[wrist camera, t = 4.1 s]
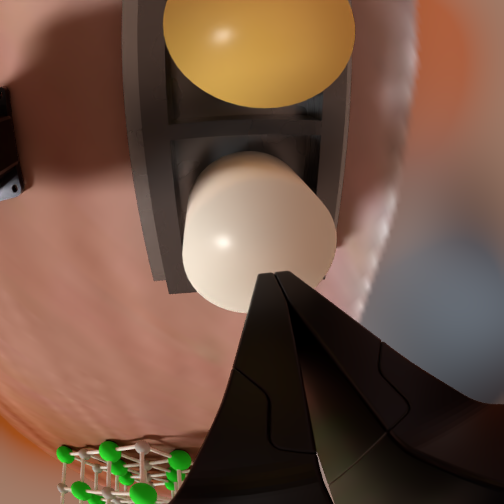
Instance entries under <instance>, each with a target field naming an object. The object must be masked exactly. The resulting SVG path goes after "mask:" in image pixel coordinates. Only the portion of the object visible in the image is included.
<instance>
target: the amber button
mask: <svg viewBox="0 0 504 504" xmlns="http://www.w3.org/2000/svg"><path fill="white" fill-rule="evenodd" d="M163 31H164V37H165V41H166V46H167V48H168V50H169V53H170V55H171V57H172V59H173V60H174V62H175V64H176V65H177V67H178V68H179V69H180V70H181V72H182V73H183V74H184V75H185V76H186V77H187V78H188V79H189V80H190V81H191V82H192V83H193V84H195V85H196V86H198V87H199V88H200V89H202V90H203V91H205V92H207V93H208V94H210V95H212V96H214V97H216V98H218V99H221V100H223V101H226V102H229V103H232V104H236V105H240V106H246V107H252V108H278V107H283V106H289V105H293V104H296V103H300V102H302V101H305V100H307V99H310V98H312V97H314V96H315V95H317V94H319V93H320V92H322V91H323V90H325V89H326V88H327V87H329V86H330V85H331V84H332V83H333V82H334V81H335V80H336V79H337V78H338V77H339V75H340V74H341V73H342V71H343V70H344V68H345V67H346V65H347V63H348V61H349V59H350V56H351V53H352V51H353V46H354V41H355V23H354V17H353V13H352V9H351V7H350V4H349V2H348V0H167V2H166V6H165V10H164V17H163Z"/></svg>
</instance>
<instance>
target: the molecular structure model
mask: <svg viewBox="0 0 504 504" xmlns="http://www.w3.org/2000/svg"><path fill="white" fill-rule="evenodd" d="M130 449H136V451H137V452H138V453H139V454H140V460H139V459H136V458H133V457H131V456H128V455H126V454H123V453H121V451H123V450H130ZM150 451H152V452H154V453H157V454H160V455H162V456H165V457H168V459H164V460H158V461H151V462H150V461H149V460H146V459H144V455H145V454H148V453H149V452H150ZM98 453H99V454H100V456H101V457H102V458H103V459H102V458H100V457H97V456H95V455H93V454H98ZM74 455H79V456H80V458H82V459H80V458H78V457H76V456H74ZM121 456H122V457H124V458H127V459H129V460H132V461H135V462H138V463H134V464H126V463H125V462H124V461H122V460H120V458H121ZM57 457H58V459H59V460H60V461H61V462H63V472H62V483H59V484H58V485H57V488H58V490H59V491H60V492H61V504H64V494H65V493H68V491H69V492H72V494H73V495H74V496H75V497H76V498H77V499H79V504H83V501H86V500H88V503H89V504H105V503H106V504H128V503H129V504H159V503H169V502H170V501H171V500H172V498H173V497H174V496H175V495H174V491H175V494H176V493H177V491H178V490H179V488H180V487H181V485H182V483H183V482H184V479H185V477H186V476H187V475H186V474H185V473H189V471H190V469H189V470H186V469H188V468H189V467H190V465H193V463H194V462H191V457H190V456H189V454H188V453H187V452H185V451H183V450H175V451H173V452H171V453H170V454H168V453H165V452H162V451H160V450H157V449H154V448H152V447H150V445H149V444H148V443H147V442H146V441H142V440H141V441H138V442H137V443H136V444H135V445H129V446H123V447H119V446H118V445H117V444H116V443H114V442H111V441H105V442H103V443H101V445H100V446H99V450H92V451H88V450H87V449H80V450H79V452H73V451H72V450H71V449H70V448H68V447H66V446H61V447H59V448H58V449H57ZM90 457H92V458H94V459H97V460H99V461H102V462H104V463H107V466H101V465H99V464H92V463H90V462H87V461H85V460H88V459H90ZM74 459H76V460H78V461H80V462H81V475H80V481H77V482H74V483H73V484H72V486H71V488H69V487H67V485H65V475H66V464H70V463H72V462H73V461H74ZM168 462H169V465H170V466H171V467H169V468H168V469H165V468H162V467H159V466H156V465H154V464H161V463H168ZM85 464H88V465H90V466H92V469H93V471H94V472H95V488H94V490H91V488H90V487H89V486H88V485H87V484H86V483H84V468H85ZM136 466H140V472H138V471H135V470H132V469H129V468H128V467H136ZM151 468H155V469H158V470H162V471H165V472H166V473H159V474H150V473H148V472H147V471H149V470H150V469H151ZM102 470H103V471H106V472H107V487H104V488H103V489H102V491H101V490H97V488H98V473H101V472H102ZM128 471H129V472H128ZM130 472H132V473H135V474H138V475H136V476H133V475H132V474H131V473H130ZM111 474H114V475H116V479H115V490H114V489H112V488H111ZM157 476H167V479H166V480H165V479H161V478H157ZM134 478H140V480H138V479H134ZM151 479H155V480H159V481H163V482H162V483H153V482H151ZM119 481H120V483H122V484H123V485H124V491H119ZM134 481H136V482H140V483H136V484H134V485H133V486H132V487H131V488H130V491H127V486H129V485H132V484H133V483H134ZM155 485H165V486H166V488H167V489H169V490H171V494H172V498H167V497H162V496H157V493H156V491H155V489H154V488H155ZM127 495H130V497H127ZM104 497H105V498H106V499H105V498H104ZM157 499H158V500H157ZM113 502H114V503H113Z"/></svg>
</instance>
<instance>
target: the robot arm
mask: <svg viewBox="0 0 504 504" xmlns="http://www.w3.org/2000/svg"><path fill="white" fill-rule="evenodd" d="M1 92H2V98H0V201H2V200H6V199H10V198H14V197H17V196H19V195H20V194H22V193H23V191H24V182H23V178H22V173H21V169H20V164H19V159H18V154H17V148H16V143H15V136H14V130H13V122H12V115H11V105H10V93H9V89H8V88H7V87H0V94H1ZM15 185H16V186H17V187H18V190H17V189H16V187H15ZM317 453H318V456H319V459H320V462H321V465H322V468H323V471H324V474H325V476H326V479H327V482H328V484H329V488H330V491H331V494H332V497H333V500H334V503H335V504H504V404H487V403H482V402H479V401H476V400H473V399H471V398H469V397H467V396H465V395H464V394H462V393H460V392H459V391H457V390H455V389H454V388H452V387H450V386H449V385H447V384H445V383H444V382H442V381H440V380H439V379H437V378H436V377H434V376H432V375H431V374H429V373H427V372H426V371H424V370H422V369H421V368H420V367H418V366H417V365H415V364H414V363H412V362H410V361H409V360H408V359H406V358H405V357H403V356H402V355H401V354H399V353H398V352H397V351H395V350H394V349H392V348H391V347H390V346H389V345H387V344H386V343H385V342H381V340H380V339H379V338H378V337H377V336H375V335H374V334H372V333H371V332H370V331H368V330H367V329H366V328H365V327H363V326H362V325H361V324H359V323H358V322H357V321H356V320H354V319H353V318H352V317H350V316H349V315H348V314H346V313H345V312H344V311H342V310H341V309H340V308H338V307H337V306H336V305H334V304H333V303H332V302H330V301H329V300H328V299H326V298H325V297H324V296H322V295H321V294H320V293H318V292H317V291H316V290H314V289H313V288H312V287H310V286H309V285H308V284H306V283H305V282H304V281H302V280H301V279H300V278H298V277H297V276H296V275H294V274H293V273H292V272H290V271H279V272H275V273H274V274H273V273H272V272H269V273H260V274H258V275H257V279H256V283H255V286H254V290H253V294H252V298H251V301H250V305H249V309H248V312H247V316H246V320H245V324H244V327H243V331H242V335H241V338H240V342H239V346H238V349H237V353H236V357H235V360H234V364H233V369H232V370H231V374H230V377H229V381H228V384H227V387H226V390H225V393H224V396H223V400H222V402H221V405H220V407H219V410H218V412H217V414H216V417H215V419H214V422H213V424H212V426H211V428H210V430H209V432H208V434H207V436H206V438H205V441H204V443H203V445H202V447H201V449H200V451H199V453H198V455H197V457H196V459H195V461H194V463H193V465H192V467H191V469H190V471H189V473H188V475H187V476H186V478H185V480H184V482H183V483H182V485H181V487H180V488H179V490H178V491H177V493H176V494H175V496H174V497H173V498H172V500H171V501H170V502H169V503H168V504H333V502H332V499H331V497H330V495H329V493H328V491H327V488H326V486H325V484H324V481H323V478H322V474H321V471H320V467H319V462H318V457H317V455H316V454H317Z"/></svg>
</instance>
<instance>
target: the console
mask: <svg viewBox="0 0 504 504" xmlns="http://www.w3.org/2000/svg"><path fill="white" fill-rule="evenodd" d="M166 2H167V0H122V73H123V91H124V105H125V116H126V127H127V136H128V145H129V153H130V160H131V167H132V174H133V181H134V187H135V193H136V199H137V205H138V210H139V215H140V221H141V226H142V231H143V236H144V240H145V245H146V250H147V254H148V258H149V263H150V267H151V271H152V275H153V279H154V281H160V280H166V282H167V287H168V291H169V294H178V293H191V292H197V291H196V289H195V288H194V287H193V286H192V284H191V282H190V281H189V279H188V277H187V275H186V272H185V269H184V265H183V257H182V251H183V240H184V230H185V221H186V213H187V205H188V198H189V194H190V191H191V188H192V186H193V184H194V182H195V180H196V179H197V177H198V176H199V175H200V173H201V172H202V171H203V170H204V169H205V168H206V167H207V166H208V165H210V164H211V163H213V162H214V161H216V160H217V159H219V158H221V157H223V156H226V155H228V154H231V153H236V152H241V151H257V152H263V153H267V154H270V155H272V156H275V157H277V158H279V159H280V160H282V161H283V162H285V163H286V164H287V165H288V166H289V167H290V168H291V169H292V170H293V171H294V172H295V173H296V174H297V175H298V176H299V177H300V178H301V179H302V180H303V181H304V183H305V184H306V185H307V186H308V187H309V188H310V189H311V190H312V191H313V192H314V193H315V195H316V196H317V197H318V198H319V199H320V200H321V201H322V203H323V204H324V205H325V206H326V208H327V209H328V211H329V212H330V214H331V216H332V218H333V221H334V224H335V228H336V230H337V223H338V217H339V209H340V202H341V194H342V187H343V178H344V169H345V160H346V150H347V139H348V127H349V113H350V96H351V73H352V53H351V56H350V59H349V61H348V63H347V65H346V67H345V68H344V70H343V71H342V73H341V74H340V75H339V77H338V78H337V79H336V80H335V81H334V82H333V83H332V84H331V85H330V86H329V87H327V88H326V89H325V90H323V91H322V92H320V93H319V94H317V95H315V96H314V97H312V98H310V99H307V100H305V101H302V102H300V103H296V104H293V105H289V106H283V107H278V108H252V107H246V106H240V105H236V104H232V103H229V102H226V101H223V100H221V99H218V98H216V97H214V96H212V95H210V94H208V93H207V92H205V91H203V90H202V89H200V88H199V87H198V86H196V85H195V84H193V83H192V82H191V81H190V80H189V79H188V78H187V77H186V76H185V75H184V74H183V73H182V72H181V70H180V69H179V68H178V67H177V65H176V64H175V62H174V60H173V59H172V57H171V55H170V53H169V50H168V48H167V46H166V41H165V37H164V31H163V17H164V10H165V6H166ZM348 2H349V4H350V7H351V9H352V5H351V0H348ZM325 276H326V275H325ZM325 276H324V278H323V279H325ZM323 279H322V280H323Z"/></svg>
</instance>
